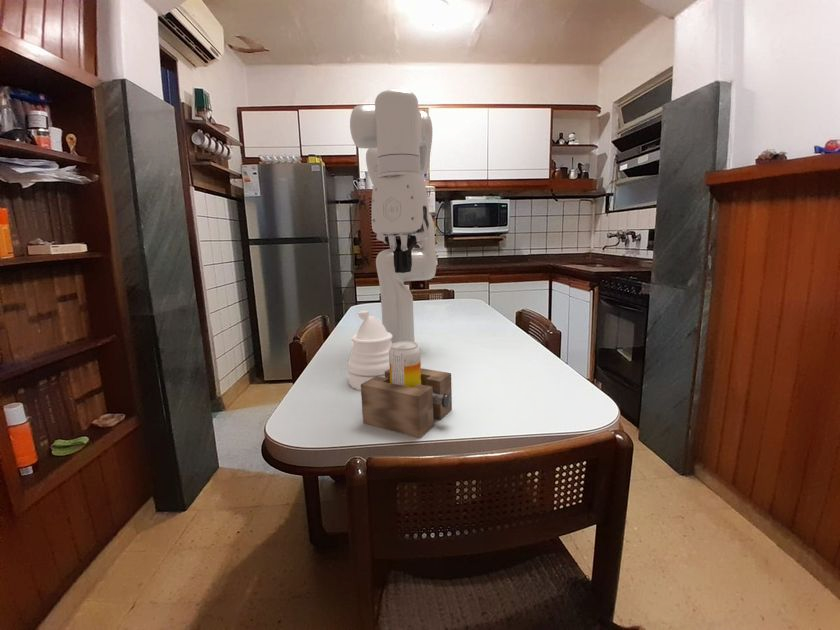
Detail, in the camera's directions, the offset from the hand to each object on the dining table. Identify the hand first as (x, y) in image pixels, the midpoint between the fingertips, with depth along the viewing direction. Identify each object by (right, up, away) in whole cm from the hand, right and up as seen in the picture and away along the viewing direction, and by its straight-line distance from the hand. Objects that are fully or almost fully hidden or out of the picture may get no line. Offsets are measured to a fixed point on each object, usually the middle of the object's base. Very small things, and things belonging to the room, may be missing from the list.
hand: (403, 272), depth 75 cm
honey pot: (-8, -25, +26) cm, 37 cm away
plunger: (+6, -25, +2) cm, 26 cm away
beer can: (+1, -29, +5) cm, 29 cm away
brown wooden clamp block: (+1, -28, +6) cm, 29 cm away
